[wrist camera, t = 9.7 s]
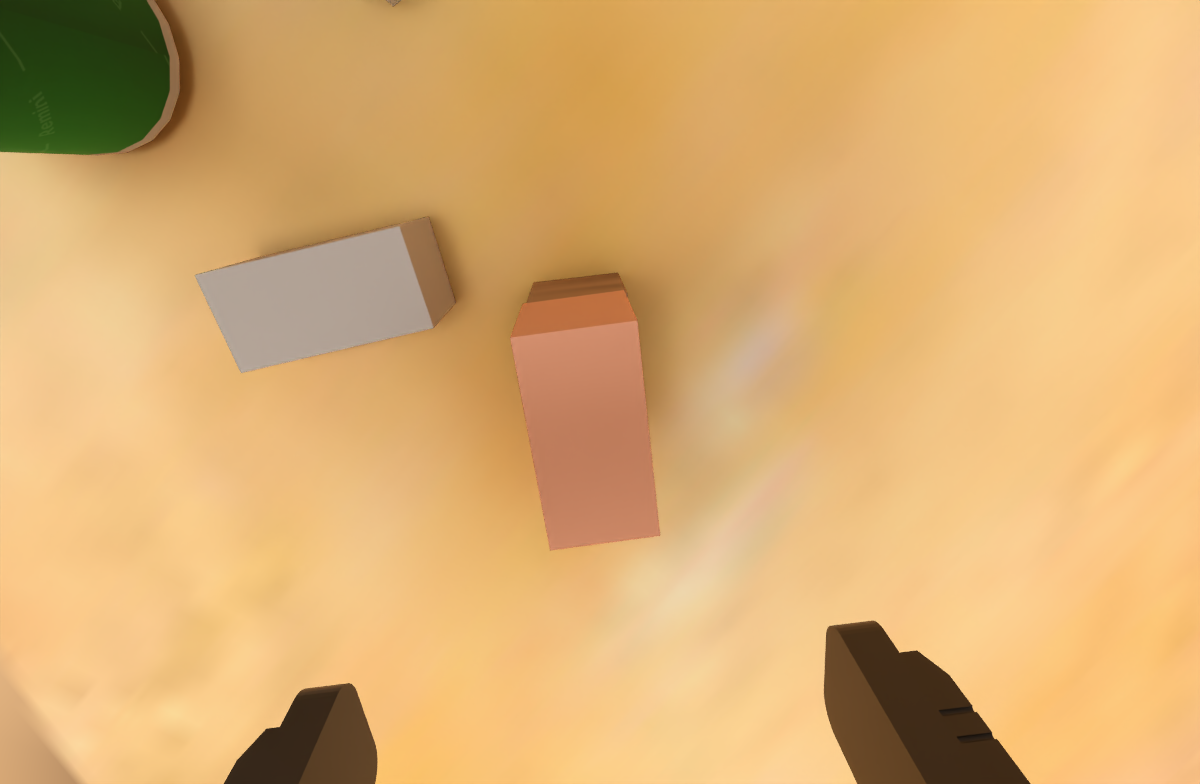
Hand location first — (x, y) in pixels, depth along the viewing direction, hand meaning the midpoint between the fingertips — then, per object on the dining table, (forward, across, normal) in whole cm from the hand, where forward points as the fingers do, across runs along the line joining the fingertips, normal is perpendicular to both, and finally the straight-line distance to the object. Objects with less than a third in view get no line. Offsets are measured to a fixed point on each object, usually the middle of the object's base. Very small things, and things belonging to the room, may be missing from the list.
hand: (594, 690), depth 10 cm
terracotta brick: (+15, 0, 0) cm, 15 cm away
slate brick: (+20, +10, -4) cm, 23 cm away
